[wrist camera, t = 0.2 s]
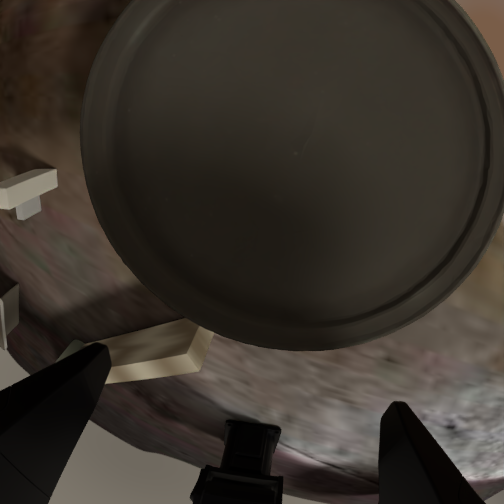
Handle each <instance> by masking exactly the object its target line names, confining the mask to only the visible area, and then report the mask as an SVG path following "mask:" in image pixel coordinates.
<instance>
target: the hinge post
mask: <svg viewBox="0 0 504 504" xmlns="http://www.w3.org/2000/svg"><path fill="white" fill-rule="evenodd" d="M84 344H85V343H83V342H82V341H80V340H73V341H72V342H71V343H70V345H69V346H68V347H67V348H66V350H65V351H64V352H63V353H62V354H61V356H60V357H59V358H58V359H57V361H59V360H61V359H63V358H65V357H67V356H69V355H71V354H73V353H75V352H77V351H78V350H79V349H80V348H81V347H82V346H84ZM57 361H56V362H57Z"/></svg>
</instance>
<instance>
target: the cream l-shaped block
mask: <svg viewBox="0 0 504 504" xmlns="http://www.w3.org/2000/svg"><path fill="white" fill-rule="evenodd" d="M56 187H58V183H57V170H56V169H34V170H31V171H28V172H26V173H23V174H20V175H18V176H15V177H12V178H10V179H7V180H5V181H3V182H0V209H9V210H10V209H12V208H14V207H16V212H17V218H18V219H20V220H25V219H27V218H29V217H30V216H32V215H34V214H36V213H38V212H40V211H41V204H40V195H41V194H43V193H45V192H47V191H49V190H52V189H54V188H56Z"/></svg>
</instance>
